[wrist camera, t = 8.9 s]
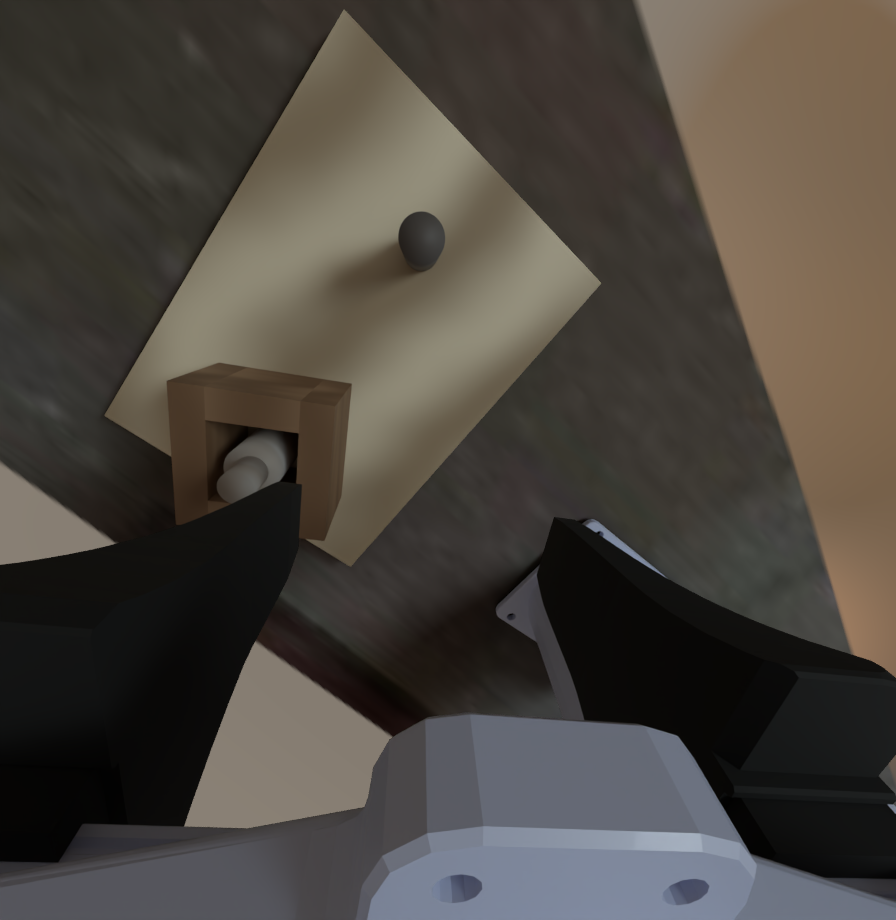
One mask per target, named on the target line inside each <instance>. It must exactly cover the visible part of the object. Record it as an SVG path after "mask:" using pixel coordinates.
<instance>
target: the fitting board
mask: <svg viewBox="0 0 896 920" xmlns="http://www.w3.org/2000/svg"><path fill="white" fill-rule="evenodd" d="M600 284H601V282H600V281H599V280H598V279H597V278H596V277H595V276H594V275H593V274H592V273H591V272H590V271H589V270H588V268H587V267H586V266H585V265H584V264H583V263H582V262H581V261H580V260H579V259H578V258H577V257H576V256H575V255H574V254H573V253H572V251H571V250H570V249H569V248H568V247H567V246H566V245H565V244H564V243H563V242H562V241H561V240H560V239H559V238H558V237H557V235H556V234H555V233H554V232H553V231H552V230H551V229H550V228H549V227H548V226H547V225H546V224H545V223H544V222H543V221H542V220H541V218H540V217H539V216H538V215H537V214H536V213H535V212H534V211H533V210H532V209H531V208H530V207H529V206H528V205H527V204H526V202H525V201H524V200H523V199H522V198H521V197H520V196H519V195H518V194H517V193H516V192H515V191H514V190H513V189H512V188H511V187H510V185H509V184H508V183H507V182H506V181H505V180H504V179H503V178H502V177H501V176H500V175H499V174H498V173H497V172H496V171H495V170H494V168H493V167H492V166H491V165H490V164H489V163H488V162H487V161H486V160H485V159H484V158H483V157H482V156H481V155H480V154H479V152H478V151H477V150H476V149H475V148H474V147H473V146H472V145H471V144H470V143H469V142H468V141H467V140H466V139H465V138H464V137H463V135H462V134H461V133H460V132H459V131H458V130H457V129H456V128H455V127H454V126H453V125H452V124H451V123H450V122H449V121H448V119H447V118H446V117H445V116H444V115H443V114H442V113H441V112H440V111H439V110H438V109H437V108H436V107H435V106H434V105H433V104H432V102H431V101H430V100H429V99H428V98H427V97H426V96H425V95H424V94H423V93H422V92H421V91H420V90H419V89H418V88H417V86H416V85H415V84H414V83H413V82H412V81H411V80H410V79H409V78H408V77H407V76H406V75H405V74H404V73H403V72H402V71H401V69H400V68H399V67H398V66H397V65H396V64H395V63H394V62H393V61H392V60H391V59H390V58H389V57H388V56H387V55H386V54H385V52H384V51H383V50H382V49H381V48H380V47H379V46H378V45H377V44H376V43H375V42H374V41H373V40H372V39H371V38H370V36H369V35H368V34H367V33H366V32H365V31H364V30H363V29H362V28H361V27H360V26H359V25H358V24H357V23H356V22H355V21H354V19H353V18H352V17H351V16H350V15H349V14H348V13H347V12H346V11H345V10H343V12H342V14H341V16H340V17H339V19H338V21H337V22H336V24H335V26H334V27H333V29H332V31H331V32H330V34H329V36H328V38H327V39H326V41H325V43H324V44H323V46H322V48H321V49H320V51H319V53H318V54H317V56H316V58H315V60H314V61H313V63H312V65H311V66H310V68H309V70H308V71H307V73H306V75H305V77H304V78H303V80H302V82H301V83H300V85H299V87H298V88H297V90H296V92H295V93H294V95H293V97H292V99H291V100H290V102H289V104H288V105H287V107H286V109H285V110H284V112H283V114H282V115H281V117H280V119H279V121H278V122H277V124H276V126H275V127H274V129H273V131H272V132H271V134H270V136H269V137H268V139H267V141H266V143H265V144H264V146H263V148H262V149H261V151H260V153H259V154H258V156H257V158H256V159H255V161H254V163H253V165H252V166H251V168H250V170H249V171H248V173H247V175H246V176H245V178H244V180H243V182H242V183H241V185H240V187H239V188H238V190H237V192H236V193H235V195H234V197H233V198H232V200H231V202H230V204H229V205H228V207H227V209H226V210H225V212H224V214H223V215H222V217H221V219H220V220H219V222H218V224H217V226H216V227H215V229H214V231H213V232H212V234H211V236H210V237H209V239H208V241H207V242H206V244H205V246H204V248H203V249H202V251H201V253H200V254H199V256H198V258H197V259H196V261H195V263H194V264H193V266H192V268H191V270H190V271H189V273H188V275H187V276H186V278H185V280H184V281H183V283H182V285H181V287H180V288H179V290H178V292H177V293H176V295H175V297H174V298H173V300H172V302H171V303H170V305H169V307H168V309H167V310H166V312H165V314H164V315H163V317H162V319H161V320H160V322H159V324H158V325H157V327H156V329H155V331H154V332H153V334H152V336H151V337H150V339H149V341H148V342H147V344H146V346H145V347H144V349H143V351H142V353H141V354H140V356H139V358H138V359H137V361H136V363H135V364H134V366H133V368H132V369H131V371H130V373H129V375H128V376H127V378H126V380H125V381H124V383H123V385H122V386H121V388H120V390H119V392H118V393H117V395H116V397H115V398H114V400H113V402H112V403H111V405H110V407H109V408H108V410H107V412H106V414H105V415H104V416H106V417H107V418H109V419H110V420H112V421H114V422H115V423H117V424H119V425H120V426H122V427H123V428H125V429H127V430H128V431H130V432H132V433H133V434H135V435H137V436H138V437H140V438H141V439H143V440H145V441H146V442H148V443H150V444H151V445H153V446H154V447H156V448H158V449H159V450H161V451H163V452H164V453H166V454H167V455H169V456H171V442H170V427H169V412H168V397H167V382H166V381H167V380H170V379H173V378H176V377H179V376H182V375H185V374H188V373H190V372H193V371H196V370H199V369H202V368H205V367H208V366H211V365H213V364H216V363H225V364H231V365H237V366H244V367H250V368H256V369H263V370H269V371H275V372H282V373H288V374H294V375H301V376H307V377H313V378H320V379H326V380H332V381H339V382H345V383H351V384H352V389H351V400H350V410H349V421H348V432H347V442H346V453H345V464H344V475H343V485H342V496H341V499H340V501H339V504H338V507H337V509H336V512H335V515H334V517H333V520H332V522H331V525H330V528H329V530H328V533H327V536H326V538H325V541H319V540H310V539H306V540H308V541H309V542H311V543H312V544H314V545H316V546H317V547H319V548H321V549H322V550H324V551H325V552H327V553H329V554H330V555H332V556H334V557H335V558H337V559H339V560H340V561H342V562H343V563H345V564H347V565H348V566H350V567H351V566H352V564H353V563H354V562H355V561H356V560H357V559H358V558H359V557H360V555H361V554H362V553H363V552H364V551H365V550H366V549H367V547H368V546H369V545H370V544H371V543H372V542H373V541H374V540H375V538H376V537H377V536H378V535H379V534H380V533H381V532H382V531H383V529H384V528H385V527H386V526H387V525H388V524H389V523H390V521H391V520H392V519H393V518H394V517H395V516H396V515H397V514H398V512H399V511H400V510H401V509H402V508H403V507H404V506H405V505H406V503H407V502H408V501H409V500H410V499H411V498H412V497H413V496H414V494H415V493H416V492H417V491H418V490H419V489H420V488H421V486H422V485H423V484H424V483H425V482H426V481H427V480H428V479H429V477H430V476H431V475H432V474H433V473H434V472H435V471H436V470H437V468H438V467H439V466H440V465H441V464H442V463H443V462H444V460H445V459H446V458H447V457H448V456H449V455H450V454H451V453H452V451H453V450H454V449H455V448H456V447H457V446H458V445H459V444H460V442H461V441H462V440H463V439H464V438H465V437H466V436H467V435H468V433H469V432H470V431H471V430H472V429H473V428H474V427H475V425H476V424H477V423H478V422H479V421H480V420H481V419H482V418H483V416H484V415H485V414H486V413H487V412H488V411H489V410H490V409H491V407H492V406H493V405H494V404H495V403H496V402H497V401H498V399H499V398H500V397H501V396H502V395H503V394H504V393H505V392H506V390H507V389H508V388H509V387H510V386H511V385H512V384H513V383H514V381H515V380H516V379H517V378H518V377H519V376H520V375H521V374H522V372H523V371H524V370H525V369H526V368H527V367H528V366H529V364H530V363H531V362H532V361H533V360H534V359H535V358H536V357H537V355H538V354H539V353H540V352H541V351H542V350H543V349H544V348H545V346H546V345H547V344H548V343H549V342H550V341H551V340H552V338H553V337H554V336H555V335H556V334H557V333H558V332H559V331H560V329H561V328H562V327H563V326H564V325H565V324H566V323H567V322H568V320H569V319H570V318H571V317H572V316H573V315H574V314H575V313H576V311H577V310H578V309H579V308H580V307H581V306H582V305H583V303H584V302H585V301H586V300H587V299H588V298H589V297H590V296H591V294H592V293H593V292H594V291H595V290H596V289H597V288H598V287H599V285H600ZM298 439H299V433H293V432H286V431H279V430H272V429H265V428H257V427H250V426H248V437H247V438H246V439H245V440H244V441H243V442H242V443H240V444H239V445H238V446H237V447H236V448H234V449H233V450H232V451H231V452H230V453H229V454H228V455H227V457H226V458H225V461H224V474H223V475H222V476H221V477H220V478H219V480H218V482H217V491H218V493H219V495H220V496H221V497H222V498H223V499H224V500H225V501H227V502H229V503H231V504H232V503H234V502H236V501H238V500H240V499H242V498H244V497H246V496H248V495H251V494H253V493H255V492H257V491H259V490H261V489H263V488H265V487H267V486H269V485H271V484H273V483H276V482H279V481H280V480H281V479H282V477H283V476H284V474H285V473H286V472H287V470H288V469H289V468H290V467H294V468H297V459H298Z"/></svg>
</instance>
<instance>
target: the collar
mask: <svg viewBox="0 0 896 920" xmlns="http://www.w3.org/2000/svg"><path fill="white" fill-rule="evenodd" d="M166 382H167V397H168V412H169V427H170V442H171V458H172V473H173V488H174V503H175V518H176V525H182V524H184V523H187V522H190V521H192V520H195V519H197V518H200V517H202V516H204V515H207V514H209V513H211V512H214V511H216V510H218V509H221V508H223V507H225V506H228V505H230V504H231V503H229V502H227V501H225V500H224V499H223V498H222V497H221V496H220V495H219V493H218V491H217V482H218V480H219V478H220V477H221V476H222V475H223V474H224V461H225V458H226V457H227V455H228V454H229V453H230V452H231V451H232V450H233V449H234V448H236V447H237V446H238V445H239V444H240V443H242V442H243V441H244V440H245V439H246V438H247V437H248V426H250V427H257V428H265V429H272V430H279V431H286V432H293V433H299V439H298V459H297V468H294V467H290V468H289V469H288V470H287V472H286V473H285V474H284V476H283V477H282V479H281V480H280V482H288V483H295V484H302V495H301V512H300V529H299V538H301V539H310V540H319V541H325V538H326V536H327V533H328V530H329V528H330V525H331V522H332V520H333V517H334V515H335V512H336V509H337V507H338V504H339V501H340V499H341V496H342V485H343V475H344V464H345V453H346V442H347V432H348V421H349V410H350V400H351V389H352V384H351V383H345V382H339V381H332V380H326V379H320V378H313V377H307V376H301V375H294V374H288V373H282V372H275V371H269V370H263V369H256V368H250V367H244V366H237V365H231V364H225V363H216V364H213V365H211V366H208V367H205V368H202V369H199V370H196V371H193V372H190V373H188V374H185V375H182V376H179V377H176V378H173V379H170V380H167V381H166Z"/></svg>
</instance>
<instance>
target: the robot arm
mask: <svg viewBox="0 0 896 920" xmlns="http://www.w3.org/2000/svg"><path fill="white" fill-rule="evenodd" d="M301 495H302V484H295V483H288V482H280V481H279V482H276V483H273V484H271V485H269V486H267V487H265V488H263V489H261V490H259V491H257V492H255V493H253V494H251V495H248V496H246V497H244V498H242V499H240V500H238V501H236V502H234V503H232V504H230V505H228V506H225V507H223V508H221V509H218V510H216V511H214V512H211V513H209V514H207V515H204V516H202V517H200V518H197V519H195V520H192V521H190V522H187V523H184V524H182V525H179V526H176V527H173V528H170V529H167V530H164V531H161V532H158V533H155V534H152V535H148V536H145V537H141V538H137V539H133V540H129V541H125V542H121V543H117V544H113V545H110V546H106V547H102V548H97V549H93V550H88V551H83V552H78V553H73V554H69V555H63V556H57V557H51V558H45V559H39V560H33V561H26V562H20V563H12V564H5V565H0V920H896V807H895V806H894V805H893V804H894V802H895V801H896V796H895V793H894V792H893V791H892V790H891V789H890V788H889V787H888V786H887V785H886V784H885V783H884V782H883V781H882V780H881V778H880V777H879V774H880V773H881V772H882V771H883V770H884V768H885V767H886V766H887V765H888V764H889V762H890V761H891V760H892V759H893V757H894V756H895V755H896V678H895V677H894V676H893V675H892V674H890V673H889V672H888V671H887V670H885V669H884V668H883V667H881V666H879V665H878V664H876V663H874V662H872V661H870V660H867V659H864V658H860V657H857V656H854V655H851V654H848V653H845V652H841V651H838V650H835V649H832V648H829V647H826V646H822V645H819V644H816V643H813V642H810V641H807V640H804V639H801V638H798V637H796V636H793V635H790V634H788V633H785V632H782V631H779V630H777V629H774V628H771V627H769V626H766V625H764V624H761V623H759V622H756V621H754V620H751V619H749V618H746V617H744V616H742V615H740V614H737V613H735V612H733V611H731V610H728V609H726V608H724V607H722V606H719V605H717V604H715V603H713V602H711V601H709V600H707V599H705V598H703V597H701V596H699V595H697V594H695V593H693V592H691V591H689V590H687V589H685V588H684V587H682V586H680V585H678V584H676V583H674V582H673V581H671V580H669V579H668V578H666V577H665V576H664V575H663V574H662V573H660V572H659V571H658V570H657V569H655V568H654V567H653V566H652V565H651V564H649V563H648V562H647V561H646V560H644V559H643V558H642V557H641V556H639V555H638V554H637V553H636V552H635V551H633V550H632V549H631V548H630V547H628V546H627V545H626V544H625V543H624V542H622V541H621V540H620V539H619V538H617V537H616V536H615V535H614V534H613V533H611V532H610V531H609V530H608V529H606V528H605V527H604V526H603V525H601V524H600V523H599V522H598V521H596V520H594V519H590V520H587V521H585V522H584V523H583V524H581V523H580V522H578V521H576V520H572V519H564V518H557V517H554V519H553V523H552V526H551V529H550V532H549V536H548V539H547V542H546V545H545V549H544V552H543V555H542V559H541V562H540V565H539V566H538V567H537V568H536V569H535V570H534V571H532V572H531V573H530V574H529V575H528V576H527V577H526V578H525V579H524V580H523V581H522V582H521V583H520V584H519V585H518V586H517V587H516V588H515V589H514V590H513V591H511V592H510V593H509V594H508V595H507V596H506V597H505V598H504V599H503V600H502V601H501V602H500V603H499V604H498V605H497V606H496V614H497V616H498V617H499V618H500V619H502V620H503V621H505V622H506V623H508V624H510V625H511V626H513V627H514V628H516V629H517V630H519V631H520V632H522V633H523V634H525V635H526V636H528V637H529V638H531V639H533V640H534V641H536V642H537V644H538V646H539V649H540V652H541V655H542V658H543V661H544V664H545V667H546V670H547V673H548V676H549V679H550V682H551V685H552V688H553V691H554V694H555V697H556V700H557V703H558V706H559V709H560V712H561V715H562V717H563V719H558V718H543V717H528V716H513V715H499V714H484V713H469V712H466V713H458V714H450V715H441V716H433V717H428V718H426V719H424V720H422V721H420V722H419V723H417V724H415V725H413V726H411V727H410V728H408V729H406V730H404V731H402V732H400V733H399V734H397V735H395V736H394V737H393V738H391V739H390V740H389V742H388V743H387V745H386V747H385V748H384V750H383V752H382V753H381V755H380V757H379V759H378V760H377V762H376V764H375V765H374V767H373V772H372V778H371V784H370V790H369V796H368V799H367V802H366V804H365V807H363V808H357V809H352V810H347V811H341V812H335V813H330V814H325V815H319V816H313V817H308V818H302V819H297V820H292V821H286V822H280V823H275V824H269V825H264V826H258V827H253V828H248V829H246V828H213V827H184V825H185V821H186V819H187V815H188V813H189V810H190V807H191V804H192V801H193V798H194V796H195V792H196V790H197V787H198V784H199V781H200V779H201V776H202V773H203V770H204V768H205V765H206V762H207V759H208V756H209V754H210V751H211V748H212V745H213V743H214V740H215V738H216V735H217V732H218V730H219V727H220V724H221V722H222V719H223V716H224V714H225V711H226V708H227V706H228V703H229V700H230V698H231V696H232V693H233V691H234V688H235V686H236V683H237V680H238V678H239V675H240V673H241V670H242V668H243V665H244V663H245V661H246V659H247V657H248V655H249V653H250V650H251V648H252V646H253V644H254V643H255V641H256V639H257V637H258V635H259V633H260V631H261V629H262V627H263V625H264V623H265V622H266V620H267V618H268V616H269V614H270V612H271V610H272V608H273V606H274V604H275V602H276V600H277V599H278V597H279V595H280V593H281V591H282V589H283V587H284V585H285V583H286V581H287V579H288V576H289V574H290V571H291V568H292V565H293V562H294V559H295V557H296V554H297V551H298V546H299V529H300V512H301ZM598 531H601V532H600V534H597V533H596V532H598ZM511 613H513V615H511V616H508V614H511Z"/></svg>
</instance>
